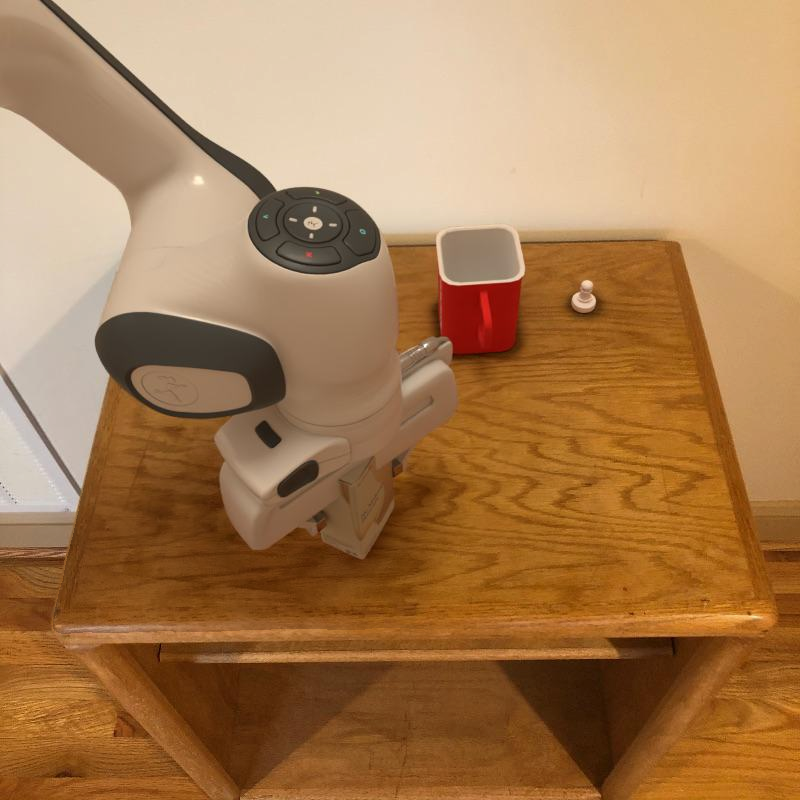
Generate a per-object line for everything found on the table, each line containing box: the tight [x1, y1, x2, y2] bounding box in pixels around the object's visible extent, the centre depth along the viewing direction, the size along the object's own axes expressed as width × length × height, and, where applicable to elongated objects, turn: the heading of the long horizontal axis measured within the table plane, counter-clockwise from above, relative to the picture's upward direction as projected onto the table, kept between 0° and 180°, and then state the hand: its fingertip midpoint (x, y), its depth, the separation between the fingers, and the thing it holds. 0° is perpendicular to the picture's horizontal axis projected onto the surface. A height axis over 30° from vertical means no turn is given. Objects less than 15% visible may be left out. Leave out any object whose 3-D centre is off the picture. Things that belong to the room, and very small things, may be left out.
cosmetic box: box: [319, 456, 395, 560], centre depth 65 cm, size 6×4×12 cm
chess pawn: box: [571, 279, 597, 314], centre depth 85 cm, size 3×3×4 cm
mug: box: [435, 223, 526, 355], centre depth 80 cm, size 12×8×11 cm
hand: (354, 496), depth 66 cm, fingers closed on cosmetic box, 7 cm apart
